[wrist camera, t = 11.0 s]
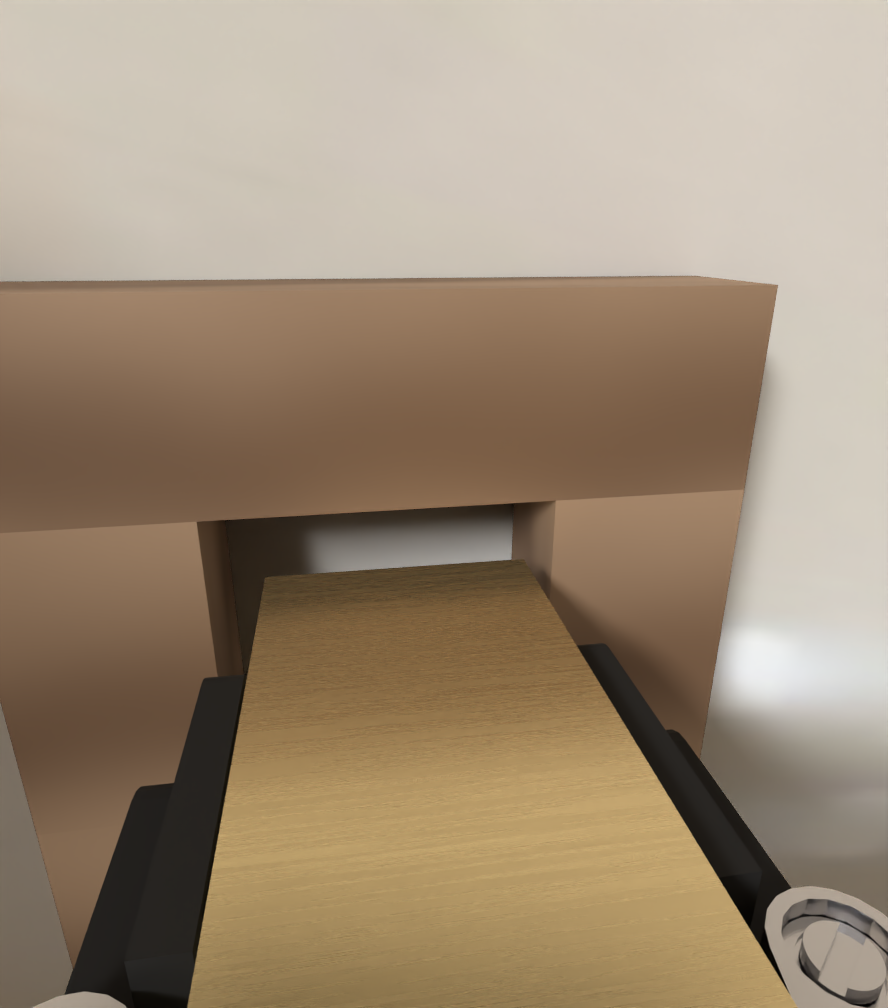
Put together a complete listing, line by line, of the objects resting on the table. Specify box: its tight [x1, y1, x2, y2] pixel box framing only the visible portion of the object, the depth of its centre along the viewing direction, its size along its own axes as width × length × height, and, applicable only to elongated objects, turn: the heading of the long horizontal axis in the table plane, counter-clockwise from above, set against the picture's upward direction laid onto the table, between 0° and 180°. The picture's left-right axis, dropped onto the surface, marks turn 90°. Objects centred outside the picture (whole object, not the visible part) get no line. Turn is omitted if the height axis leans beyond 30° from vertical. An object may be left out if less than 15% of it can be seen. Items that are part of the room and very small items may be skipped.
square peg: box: [187, 559, 798, 1008], centre depth 8 cm, size 4×4×8 cm
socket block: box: [0, 276, 778, 969], centre depth 15 cm, size 24×12×2 cm, turn 0°
